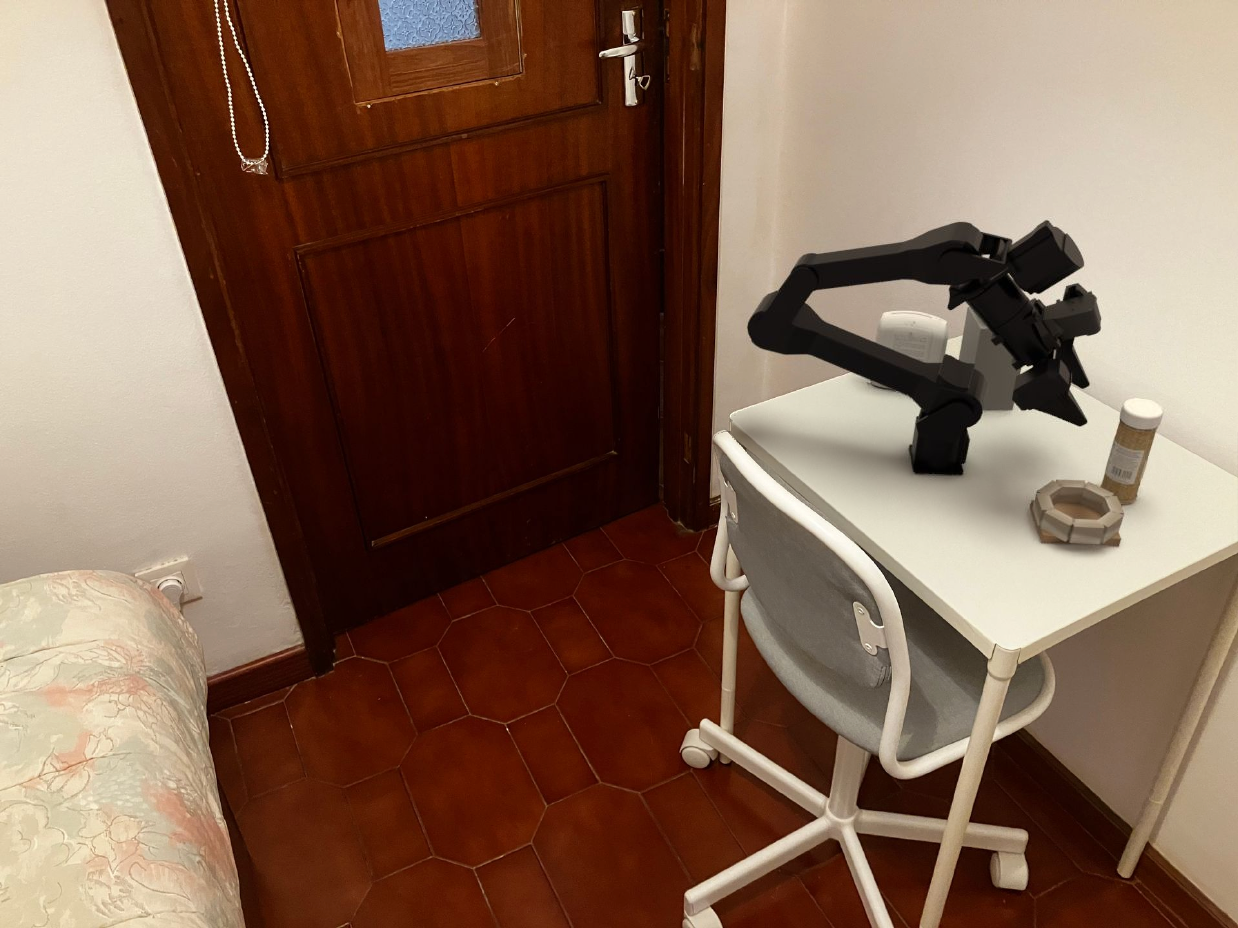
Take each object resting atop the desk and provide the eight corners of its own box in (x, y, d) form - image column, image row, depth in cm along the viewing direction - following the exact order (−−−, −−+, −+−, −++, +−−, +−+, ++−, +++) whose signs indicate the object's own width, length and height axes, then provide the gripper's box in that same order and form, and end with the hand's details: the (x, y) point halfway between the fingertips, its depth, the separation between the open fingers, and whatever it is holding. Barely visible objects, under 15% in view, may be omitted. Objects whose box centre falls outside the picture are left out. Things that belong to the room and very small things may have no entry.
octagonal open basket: (1041, 549, 123) (1047, 525, 121) (1025, 501, 130) (1031, 478, 128) (1124, 553, 122) (1131, 529, 119) (1103, 504, 129) (1110, 481, 127)
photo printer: (941, 384, 155) (953, 311, 148) (937, 398, 152) (949, 324, 144) (872, 374, 158) (881, 302, 151) (867, 387, 155) (876, 314, 148)
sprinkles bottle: (1143, 497, 130) (1172, 408, 122) (1121, 510, 128) (1149, 420, 121) (1112, 480, 133) (1138, 392, 126) (1090, 492, 131) (1115, 404, 124)
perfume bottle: (1012, 409, 148) (1036, 297, 138) (965, 411, 148) (986, 299, 138) (998, 386, 154) (1021, 276, 143) (953, 387, 154) (972, 278, 144)
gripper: (1064, 310, 111) (1148, 412, 114) (1071, 244, 125) (1146, 336, 128) (977, 362, 118) (1059, 457, 121) (993, 294, 132) (1066, 380, 135)
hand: (1085, 405), depth 126 cm, fingers open, 9 cm apart
